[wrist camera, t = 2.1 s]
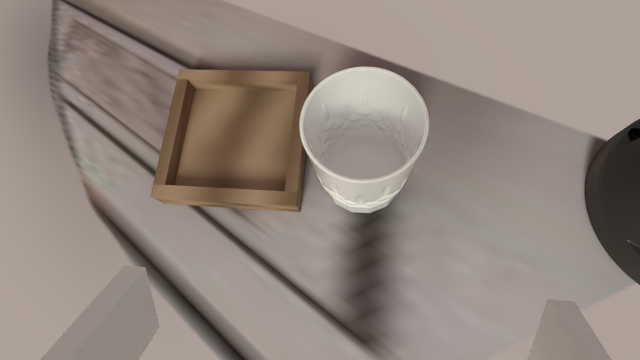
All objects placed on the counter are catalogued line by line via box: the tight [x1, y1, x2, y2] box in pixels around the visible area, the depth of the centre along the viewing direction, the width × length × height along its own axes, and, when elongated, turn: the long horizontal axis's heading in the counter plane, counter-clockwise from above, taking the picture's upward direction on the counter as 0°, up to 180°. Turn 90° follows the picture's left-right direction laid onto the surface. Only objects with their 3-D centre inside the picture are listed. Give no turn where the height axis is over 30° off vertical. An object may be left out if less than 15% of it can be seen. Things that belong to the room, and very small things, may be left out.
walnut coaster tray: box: [151, 69, 313, 212], centre depth 34 cm, size 12×12×2 cm
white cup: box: [299, 66, 429, 213], centre depth 29 cm, size 8×8×10 cm
